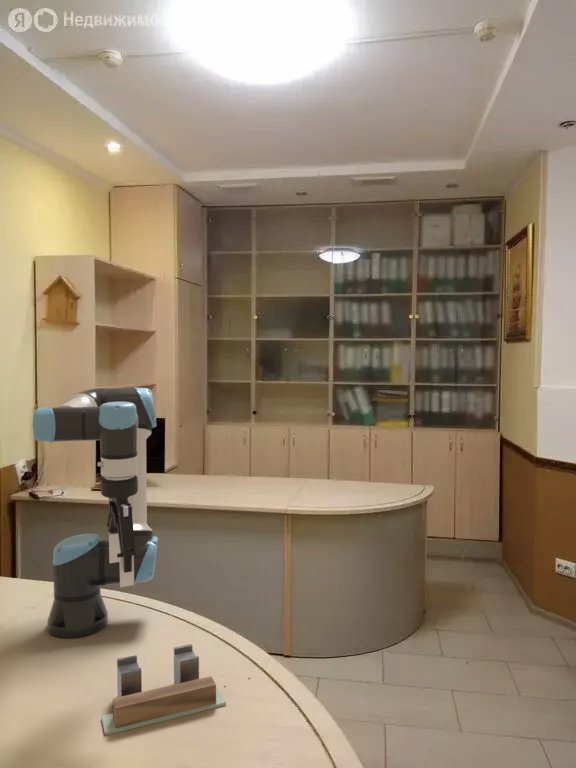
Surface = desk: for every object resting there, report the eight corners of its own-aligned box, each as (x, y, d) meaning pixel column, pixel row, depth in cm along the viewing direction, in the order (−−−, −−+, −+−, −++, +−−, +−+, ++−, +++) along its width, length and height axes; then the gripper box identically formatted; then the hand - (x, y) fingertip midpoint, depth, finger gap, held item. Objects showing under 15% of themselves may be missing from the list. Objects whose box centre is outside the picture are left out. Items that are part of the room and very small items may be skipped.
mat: (101, 719, 118) (101, 716, 118) (218, 691, 128) (218, 688, 128) (104, 735, 113) (104, 732, 113) (226, 705, 123) (226, 702, 123)
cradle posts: (117, 695, 126) (116, 659, 126) (191, 678, 132) (191, 643, 132) (121, 712, 120) (121, 673, 120) (199, 693, 127) (198, 657, 126)
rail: (113, 718, 117) (112, 698, 117) (211, 694, 126) (211, 676, 125) (115, 728, 114) (115, 708, 114) (216, 703, 122) (216, 684, 122)
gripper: (92, 464, 135) (95, 555, 137) (110, 492, 113) (112, 600, 115) (126, 461, 138) (128, 550, 141) (150, 488, 116) (151, 593, 118)
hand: (121, 573), depth 128 cm, fingers open, 13 cm apart
